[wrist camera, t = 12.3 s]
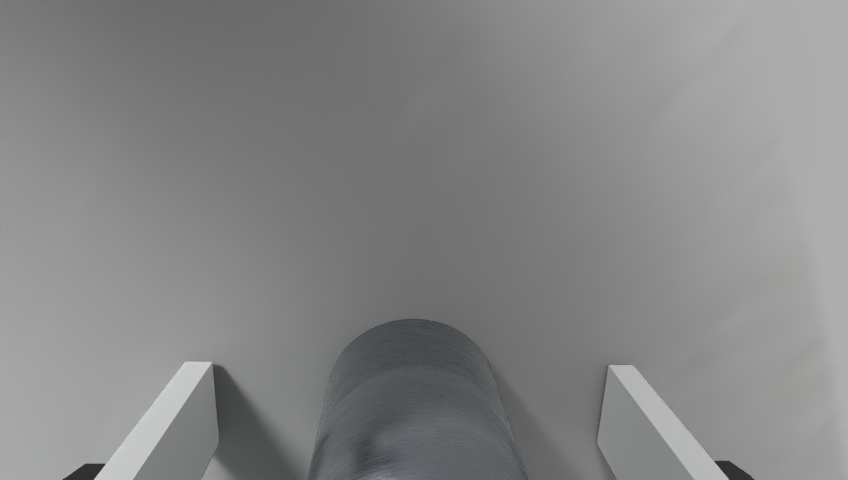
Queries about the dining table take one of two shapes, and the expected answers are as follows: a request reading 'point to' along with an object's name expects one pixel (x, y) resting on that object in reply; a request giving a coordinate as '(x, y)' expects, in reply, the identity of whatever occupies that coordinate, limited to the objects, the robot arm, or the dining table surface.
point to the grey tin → (414, 410)
